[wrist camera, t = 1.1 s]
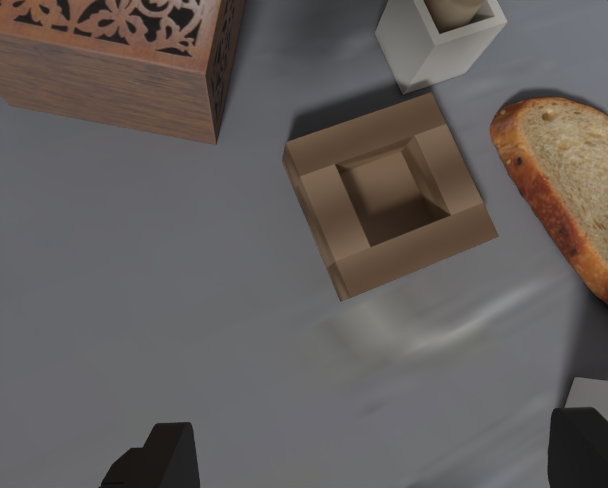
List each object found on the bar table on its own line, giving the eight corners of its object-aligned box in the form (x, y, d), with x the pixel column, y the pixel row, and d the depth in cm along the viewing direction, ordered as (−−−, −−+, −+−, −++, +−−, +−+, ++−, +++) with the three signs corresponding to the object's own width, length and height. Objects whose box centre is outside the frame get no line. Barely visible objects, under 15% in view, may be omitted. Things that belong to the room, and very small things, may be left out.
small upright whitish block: (374, 33, 39) (400, -28, 32) (435, 14, 40) (472, -49, 33) (402, 95, 38) (434, 45, 31) (464, 73, 39) (507, 22, 32)
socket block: (281, 160, 36) (285, 142, 32) (414, 114, 38) (431, 92, 34) (340, 301, 34) (350, 297, 31) (475, 245, 36) (498, 236, 33)
